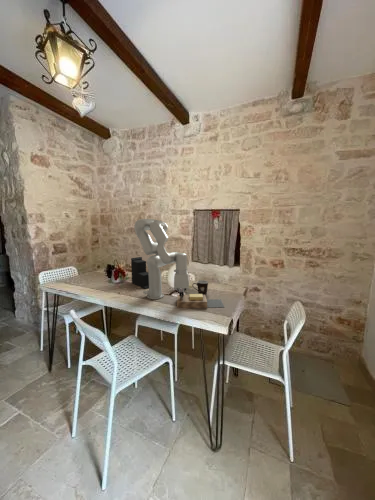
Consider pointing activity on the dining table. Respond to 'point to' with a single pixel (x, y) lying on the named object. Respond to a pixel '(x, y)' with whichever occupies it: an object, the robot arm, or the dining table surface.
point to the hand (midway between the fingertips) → (181, 297)
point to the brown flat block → (191, 302)
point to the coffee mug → (202, 287)
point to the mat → (215, 303)
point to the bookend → (139, 272)
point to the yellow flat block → (196, 296)
